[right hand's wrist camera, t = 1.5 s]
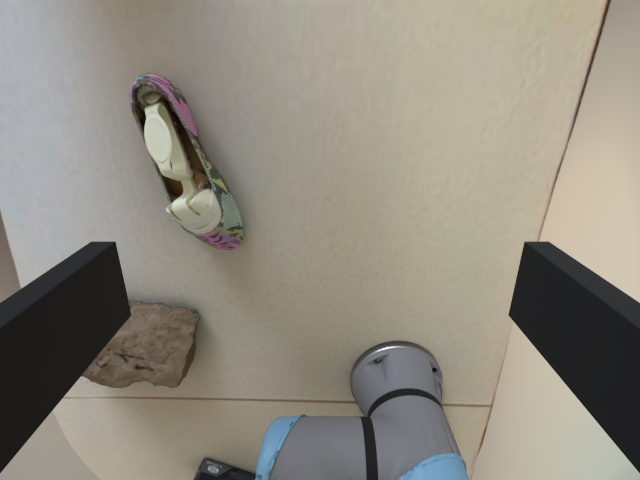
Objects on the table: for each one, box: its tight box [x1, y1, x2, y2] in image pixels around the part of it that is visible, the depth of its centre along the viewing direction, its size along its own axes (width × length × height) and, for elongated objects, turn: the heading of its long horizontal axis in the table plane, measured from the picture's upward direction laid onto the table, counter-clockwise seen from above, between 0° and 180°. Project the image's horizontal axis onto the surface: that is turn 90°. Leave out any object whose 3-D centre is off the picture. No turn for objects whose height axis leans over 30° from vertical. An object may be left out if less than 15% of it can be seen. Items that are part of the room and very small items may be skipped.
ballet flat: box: [130, 74, 243, 250], centre depth 47 cm, size 8×24×9 cm, turn 18°
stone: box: [81, 300, 200, 388], centre depth 59 cm, size 21×15×6 cm
